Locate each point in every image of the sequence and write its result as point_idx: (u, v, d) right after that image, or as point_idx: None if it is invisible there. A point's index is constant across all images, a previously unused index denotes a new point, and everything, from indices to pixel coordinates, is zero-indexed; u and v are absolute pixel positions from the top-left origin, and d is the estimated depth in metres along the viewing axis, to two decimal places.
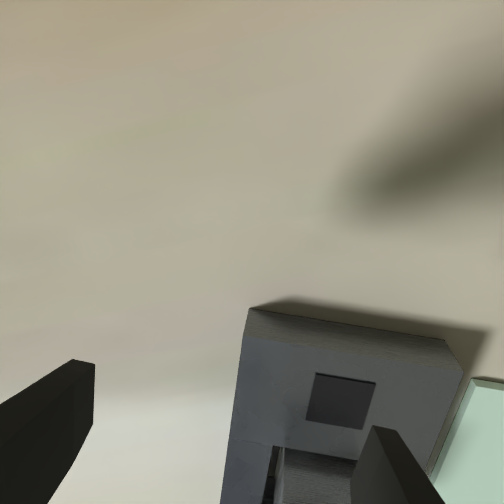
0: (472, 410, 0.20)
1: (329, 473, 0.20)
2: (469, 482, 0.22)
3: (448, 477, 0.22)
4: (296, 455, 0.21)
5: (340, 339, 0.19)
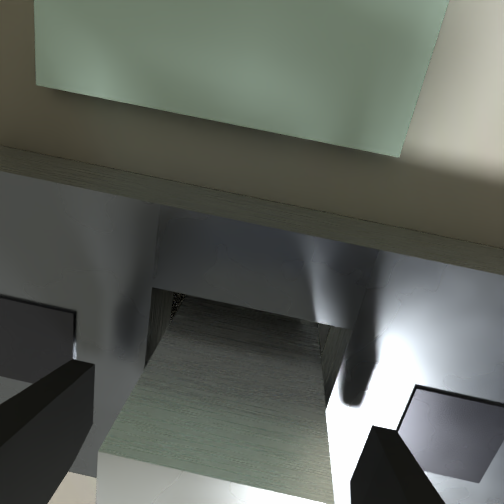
0: (89, 83, 0.11)
1: None
2: (284, 58, 0.10)
3: (271, 108, 0.10)
4: None
5: None
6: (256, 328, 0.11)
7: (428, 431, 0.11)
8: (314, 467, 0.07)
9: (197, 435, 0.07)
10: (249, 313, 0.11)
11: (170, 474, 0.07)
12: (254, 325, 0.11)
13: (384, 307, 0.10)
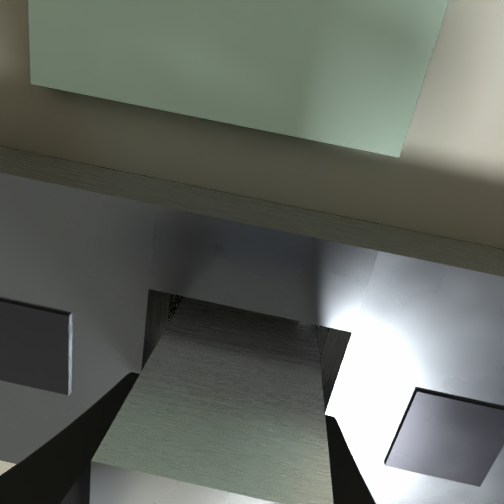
0: (84, 82, 0.10)
1: None
2: (282, 56, 0.10)
3: (269, 107, 0.10)
4: None
5: None
6: (254, 331, 0.11)
7: (428, 434, 0.11)
8: (313, 475, 0.07)
9: (193, 444, 0.07)
10: (247, 316, 0.11)
11: (164, 484, 0.06)
12: (252, 328, 0.11)
13: (384, 309, 0.10)
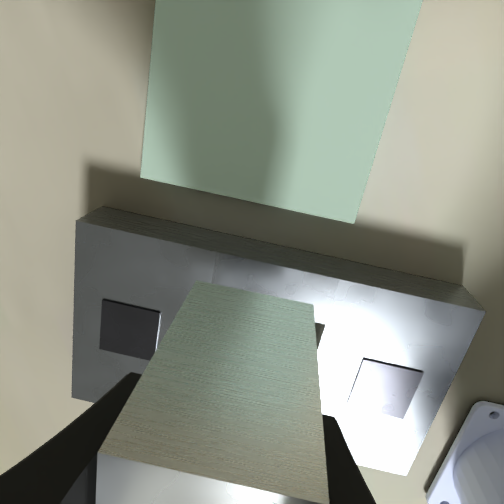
0: (172, 177, 0.18)
1: None
2: (287, 168, 0.17)
3: (279, 194, 0.18)
4: None
5: None
6: (254, 332, 0.11)
7: (371, 386, 0.18)
8: (309, 467, 0.07)
9: (194, 437, 0.07)
10: (247, 317, 0.12)
11: (168, 475, 0.07)
12: (252, 328, 0.11)
13: (343, 311, 0.17)
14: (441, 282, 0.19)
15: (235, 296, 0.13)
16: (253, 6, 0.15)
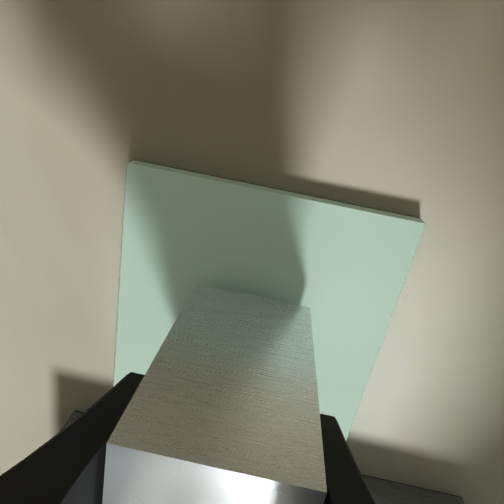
0: None
1: None
2: None
3: None
4: None
5: None
6: (253, 332, 0.11)
7: None
8: (308, 458, 0.07)
9: (198, 430, 0.08)
10: (246, 318, 0.12)
11: (173, 464, 0.07)
12: (251, 329, 0.11)
13: None
14: (439, 496, 0.17)
15: (234, 298, 0.13)
16: (228, 253, 0.14)
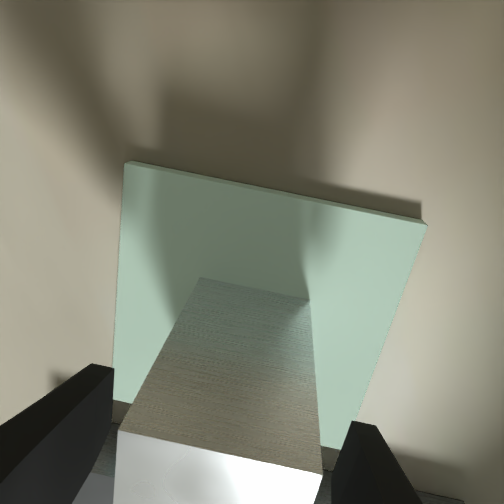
0: None
1: None
2: None
3: None
4: None
5: None
6: (255, 324, 0.12)
7: None
8: (305, 444, 0.08)
9: (203, 417, 0.08)
10: (248, 311, 0.12)
11: (180, 449, 0.08)
12: (252, 321, 0.12)
13: None
14: (440, 499, 0.17)
15: (237, 292, 0.13)
16: (227, 255, 0.14)
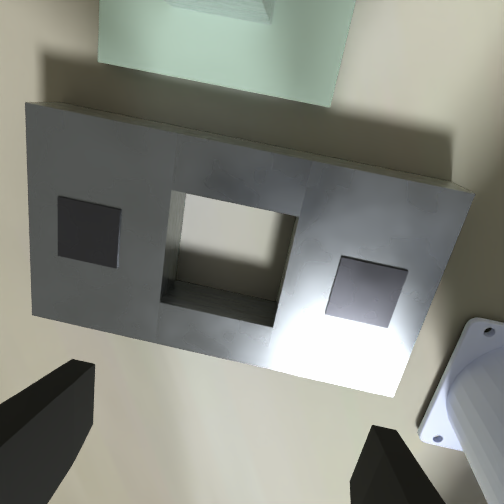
0: (132, 60, 0.16)
1: None
2: (255, 43, 0.16)
3: (248, 75, 0.16)
4: None
5: None
6: None
7: (351, 289, 0.17)
8: None
9: None
10: None
11: None
12: None
13: (318, 200, 0.16)
14: (428, 177, 0.17)
15: None
16: None
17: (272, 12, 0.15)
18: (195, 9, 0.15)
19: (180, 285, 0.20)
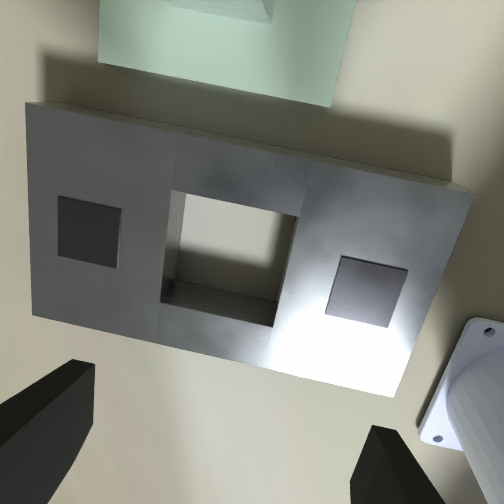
0: (132, 60, 0.16)
1: None
2: (255, 43, 0.16)
3: (248, 75, 0.16)
4: None
5: None
6: None
7: (351, 289, 0.17)
8: None
9: None
10: None
11: None
12: None
13: (318, 200, 0.16)
14: (428, 177, 0.17)
15: None
16: None
17: (272, 12, 0.15)
18: (195, 9, 0.15)
19: (180, 285, 0.20)
